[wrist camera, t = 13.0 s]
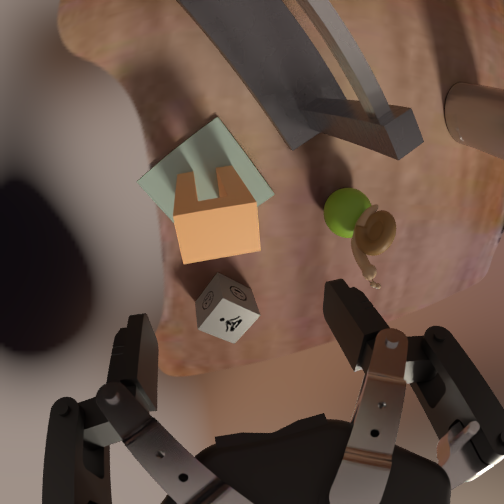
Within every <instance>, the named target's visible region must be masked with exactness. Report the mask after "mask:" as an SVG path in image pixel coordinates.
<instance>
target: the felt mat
mask: <svg viewBox="0 0 504 504" xmlns="http://www.w3.org/2000/svg"><path fill="white" fill-rule="evenodd" d="M231 165H232V166H233V167H234V169H235V170H236V172H237V173H238V175H239V176H240V178H241V179H242V181H243V182H244V184H245V185H246V187H247V188H248V190H249V191H250V193H251V194H252V196H253V197H254V199H255V200H256V202H257V207H258V206H259V205H261V204H262V203H263V202H265V201H266V200H267V199H269V198H270V197H272V196H273V195H274V193H273V191H272V190H271V188H270V187H269V186H268V184H267V183H266V181H265V180H264V179H263V177H262V176H261V175H260V173H259V172H258V170H257V169H256V168H255V166H254V165H253V163H252V162H251V161H250V159H249V158H248V157H247V155H246V154H245V153H244V151H243V150H242V149H241V147H240V146H239V144H238V143H237V142H236V140H235V139H234V138H233V136H232V135H231V134H230V132H229V131H228V130H227V129H226V127H225V126H224V125H223V123H222V122H221V121H220V119H219V118H218V117H216V118H215V119H213V120H212V121H211V122H209V123H208V124H207V125H205V126H204V127H203V128H201V129H200V130H199V131H197V132H196V133H195V134H193V135H192V136H191V137H189V138H188V139H187V140H186V141H184V142H183V143H182V144H181V145H179V146H178V147H177V148H176V149H174V150H173V151H172V152H171V153H169V154H168V155H167V156H166V157H164V158H163V159H162V160H161V161H160V162H158V163H157V164H156V165H155V166H154V167H153V168H151V169H150V170H149V171H148V172H147V173H146V174H145V175H143V176H142V177H141V178H140V179H139V180H138V181H137V183H138V184H139V185H140V186H141V188H143V190H144V191H145V192H146V193H147V194H148V195H149V196H150V197H151V198H152V200H153V201H154V202H155V203H156V204H157V205H158V206H159V207H160V208H161V210H162V211H163V212H164V213H165V214H166V215H167V216H168V217H169V218H170V219H171V220H172V221H173V223H174V219H173V210H174V200H175V190H176V181H177V174H181V173H187V172H192V171H194V178H195V184H196V191H197V197H198V201H202V200H207V199H213V198H219V197H220V196H219V188H218V181H217V173H216V168H217V167H224V166H231Z"/></svg>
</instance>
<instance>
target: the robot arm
mask: <svg viewBox="0 0 504 504" xmlns="http://www.w3.org/2000/svg"><path fill="white" fill-rule="evenodd" d="M445 118H446V123H447V127H448V130H449V132H450V134H451V136H452V137H453V138H454V139H455V140H456V141H457V142H459V143H461V144H464V145H467V146H470V147H473V148H475V149H478V150H480V151H483V152H486V153H488V154H491V155H493V156H496V157H498V158H501V159H503V160H504V89H499V88H494V87H488V86H482V85H476V84H469V83H457V84H455V85H453V87H452V88H451V89H450V91H449V93H448V95H447V98H446V103H445ZM323 313H324V317H325V320H326V322H327V323H328V325H329V327H330V329H331V331H332V332H333V334H334V336H335V338H336V340H337V341H338V343H339V345H340V347H341V348H342V350H343V352H344V354H345V356H346V358H347V359H348V361H349V363H350V365H351V367H352V369H353V370H354V372H356V371H358V370H361V369H363V371H364V373H365V375H364V378H363V382H362V385H361V389H360V392H359V396H358V400H357V403H356V406H355V409H354V412H353V415H352V418H351V421H350V422H347V421H342V420H332V419H326V417H325V414H324V413H323V414H319V415H316V416H312V417H309V418H305V419H301V420H298V421H296V422H294V423H292V424H290V425H288V426H286V427H284V428H282V429H280V430H278V431H276V432H273V433H237V434H231V435H224V436H218V437H215V441H216V444H214V445H211V446H209V447H207V448H205V449H204V450H202V451H201V452H200V453H199V454H197V455H196V456H195V457H194V456H193V455H192V454H191V453H189V452H188V451H187V450H186V449H185V448H184V447H183V446H182V445H181V444H180V443H179V442H178V441H177V440H176V439H175V438H174V437H173V436H172V435H171V434H170V433H169V432H168V431H167V430H166V429H165V428H164V427H163V426H162V425H161V424H160V423H159V422H158V421H157V420H156V419H155V418H153V417H152V416H151V415H150V414H149V411H157V381H158V380H157V379H158V342H157V339H156V336H155V333H154V331H153V329H152V326H151V324H150V321H149V318H148V316H147V314H146V313H144V314H137V315H130V316H129V319H128V324H127V328H120V330H119V332H118V333H117V334H116V336H115V339H114V343H113V349H112V356H111V359H110V365H109V371H108V377H107V382H106V384H104V385H103V386H102V387H100V388H99V390H98V392H97V394H96V397H94V398H91V399H88V400H85V401H82V402H79V403H77V402H76V401H75V399H73V398H71V397H63V398H60V399H58V400H57V401H56V402H55V403H54V405H53V406H52V408H51V412H50V418H49V425H48V432H47V439H46V447H45V458H44V470H43V489H42V504H112V498H111V482H110V451H109V450H110V445H111V444H113V443H117V442H120V441H122V442H123V443H124V444H125V446H126V447H127V448H128V450H129V451H130V452H131V453H132V455H133V456H134V457H135V458H136V459H137V461H138V462H139V463H140V464H141V465H142V467H143V468H144V469H145V470H146V471H147V472H148V473H149V474H150V476H151V477H152V478H153V479H154V480H155V481H156V482H157V483H158V484H159V485H160V486H161V488H162V489H163V490H164V491H165V492H166V493H167V494H168V495H167V496H166V497H165V499H164V500H163V501H162V503H161V504H450V496H451V490H452V489H454V488H455V487H457V486H459V485H460V484H462V483H464V482H469V481H471V480H474V479H475V478H477V477H478V476H480V475H481V474H483V473H484V472H485V471H487V470H489V469H490V468H492V467H493V466H494V465H496V464H497V463H498V462H500V461H501V460H503V458H504V409H503V407H502V406H501V404H500V403H499V401H498V399H497V398H496V396H495V395H494V394H493V392H492V390H491V389H490V387H489V386H488V384H487V383H486V381H485V380H484V378H483V377H482V375H481V374H480V372H479V371H478V369H477V368H476V367H475V365H474V364H473V362H472V361H471V360H470V358H469V357H468V355H467V354H466V353H465V351H464V350H463V349H462V347H461V346H460V345H459V343H458V342H457V341H456V339H455V338H454V337H453V335H452V334H451V333H450V332H449V331H448V330H447V329H446V328H444V327H440V326H432V327H429V328H428V329H427V330H426V332H425V334H424V336H412V337H407V336H406V335H405V334H404V333H403V332H401V331H400V330H397V329H394V328H390V327H389V326H388V325H387V323H386V322H385V321H384V319H383V318H382V317H381V315H380V314H379V313H378V311H377V310H376V309H375V307H373V305H372V303H371V302H370V301H369V300H368V298H367V297H366V296H365V294H364V293H363V292H361V291H360V290H358V289H357V288H355V287H352V288H349V286H348V285H347V284H346V282H345V281H344V280H343V279H337V280H332V281H328V282H326V283H325V290H324V302H323ZM406 383H410V385H411V387H412V389H413V391H414V392H415V394H416V396H417V398H418V400H419V402H420V403H421V405H422V407H423V409H424V411H425V413H426V415H427V417H428V419H429V420H430V422H431V424H432V426H433V428H434V430H435V432H436V434H437V436H438V438H439V442H438V444H437V448H436V451H437V459H438V464H437V463H435V462H433V461H431V460H429V459H426V458H424V457H422V456H419V455H417V454H415V453H412V452H410V451H408V450H406V449H404V448H402V447H399V446H397V445H395V441H396V437H397V433H398V428H399V423H400V418H401V413H402V408H403V402H404V396H405V390H406Z"/></svg>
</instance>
